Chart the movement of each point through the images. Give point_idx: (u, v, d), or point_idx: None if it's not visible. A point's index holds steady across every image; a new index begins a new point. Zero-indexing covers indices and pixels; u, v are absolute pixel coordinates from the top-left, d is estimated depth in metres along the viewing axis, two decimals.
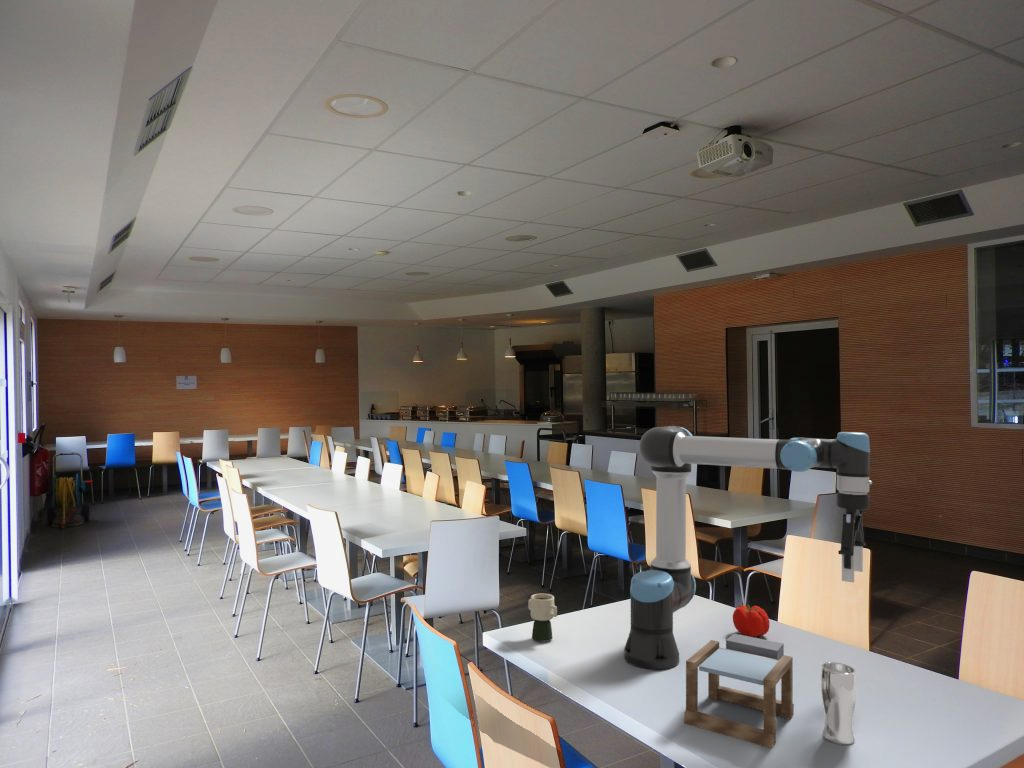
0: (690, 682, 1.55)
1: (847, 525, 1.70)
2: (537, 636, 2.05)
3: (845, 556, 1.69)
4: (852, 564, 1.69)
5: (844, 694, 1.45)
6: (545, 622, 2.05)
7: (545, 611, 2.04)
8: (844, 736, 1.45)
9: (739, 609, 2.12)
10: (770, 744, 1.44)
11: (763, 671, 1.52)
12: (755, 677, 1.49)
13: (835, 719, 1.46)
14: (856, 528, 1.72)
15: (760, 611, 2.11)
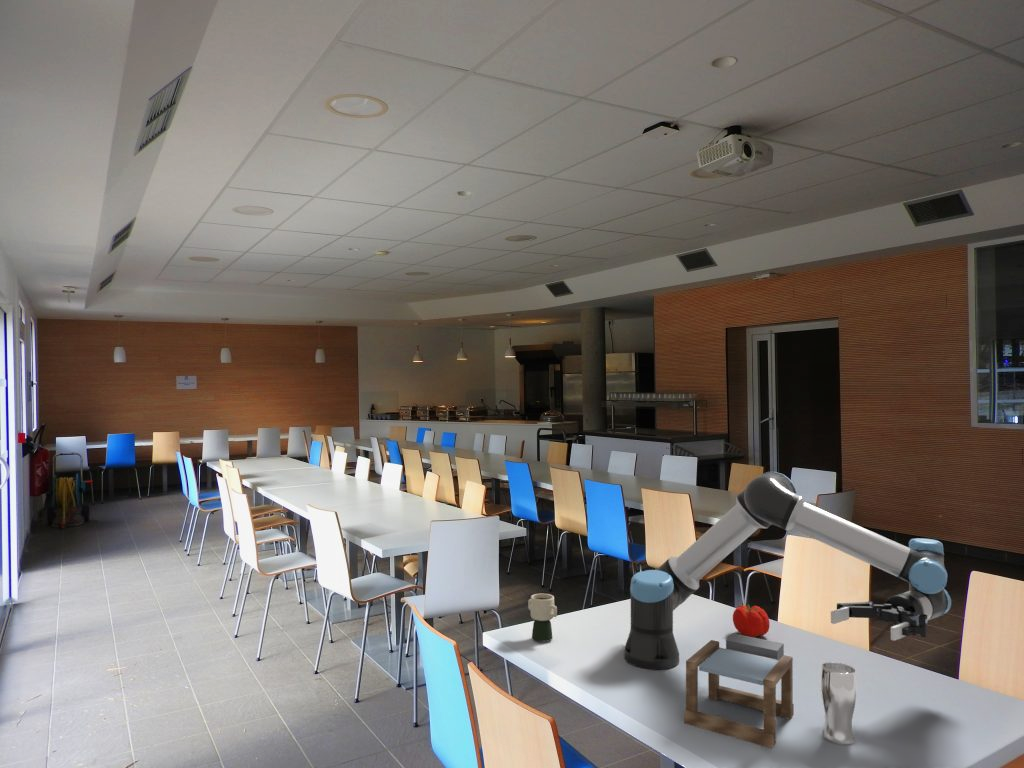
0: (690, 682, 1.55)
1: None
2: (537, 636, 2.05)
3: (914, 628, 1.51)
4: (904, 635, 1.51)
5: (844, 694, 1.45)
6: (545, 622, 2.05)
7: (545, 611, 2.04)
8: (844, 736, 1.45)
9: (739, 609, 2.12)
10: (770, 744, 1.44)
11: (763, 671, 1.52)
12: (755, 677, 1.49)
13: (835, 719, 1.46)
14: None
15: (760, 611, 2.11)
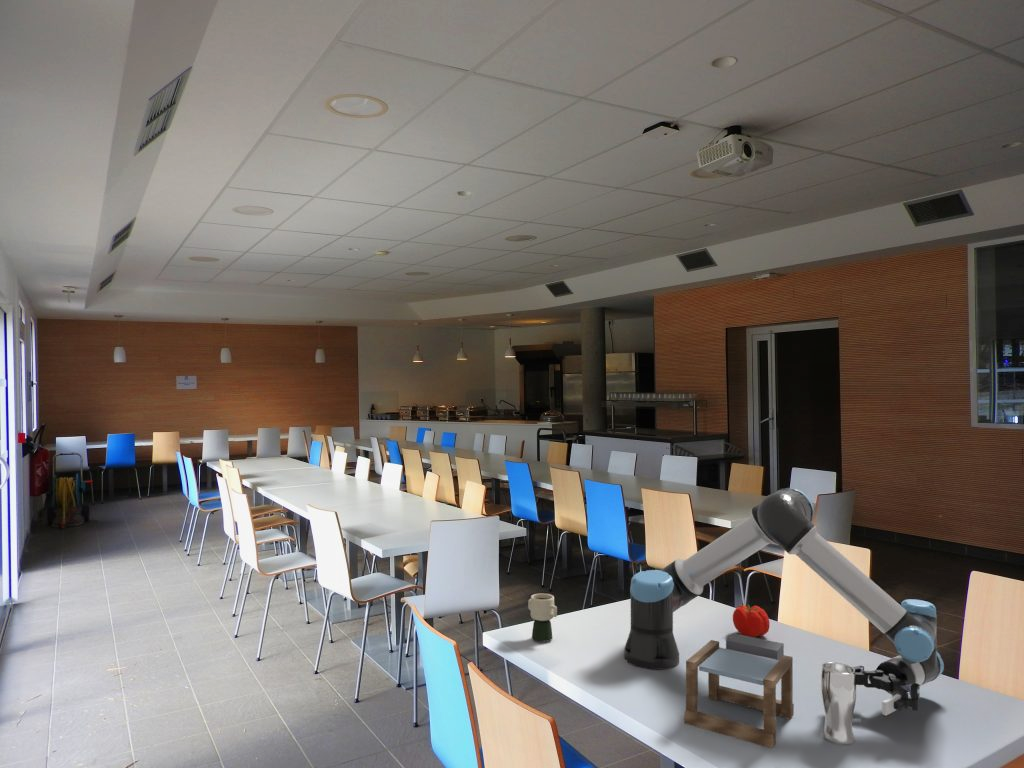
0: (690, 682, 1.55)
1: None
2: (537, 636, 2.05)
3: (906, 702, 1.47)
4: None
5: (844, 694, 1.45)
6: (545, 622, 2.05)
7: (545, 611, 2.04)
8: (844, 736, 1.45)
9: (739, 609, 2.12)
10: (770, 744, 1.44)
11: (763, 671, 1.52)
12: (755, 677, 1.49)
13: (835, 719, 1.46)
14: None
15: (760, 611, 2.11)
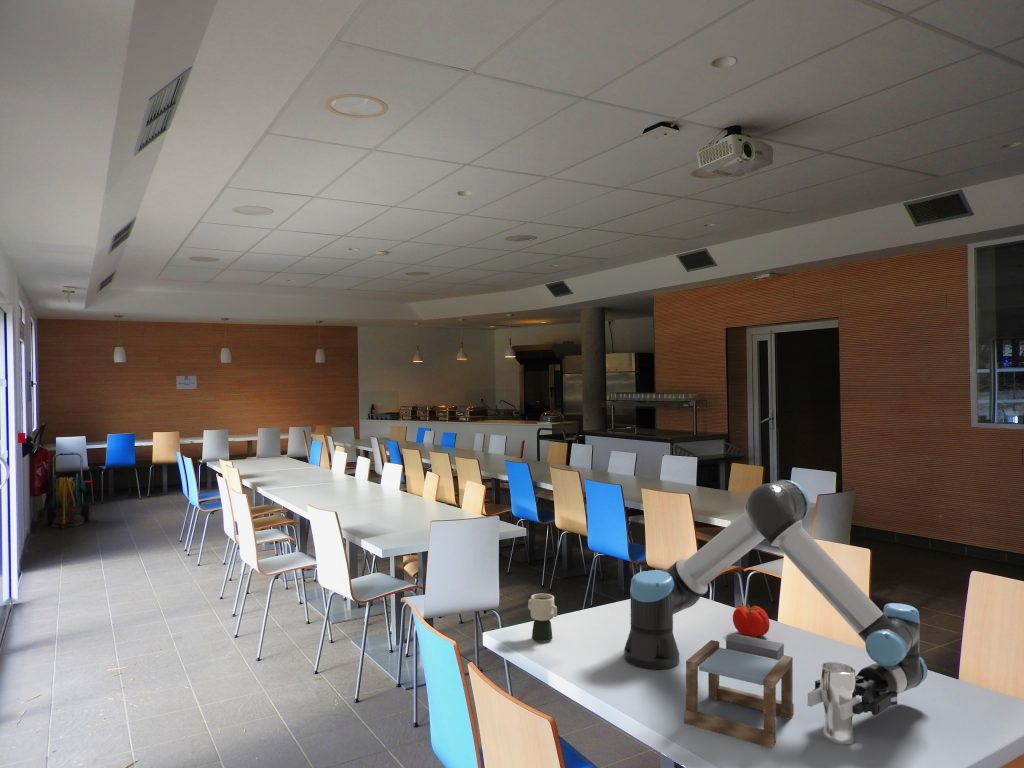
0: (690, 682, 1.55)
1: (890, 700, 1.48)
2: (537, 636, 2.05)
3: (865, 706, 1.45)
4: None
5: (844, 694, 1.45)
6: (545, 622, 2.05)
7: (545, 611, 2.04)
8: (844, 736, 1.45)
9: (739, 609, 2.12)
10: (770, 744, 1.44)
11: (763, 671, 1.52)
12: (755, 677, 1.49)
13: (835, 719, 1.46)
14: None
15: (760, 611, 2.11)
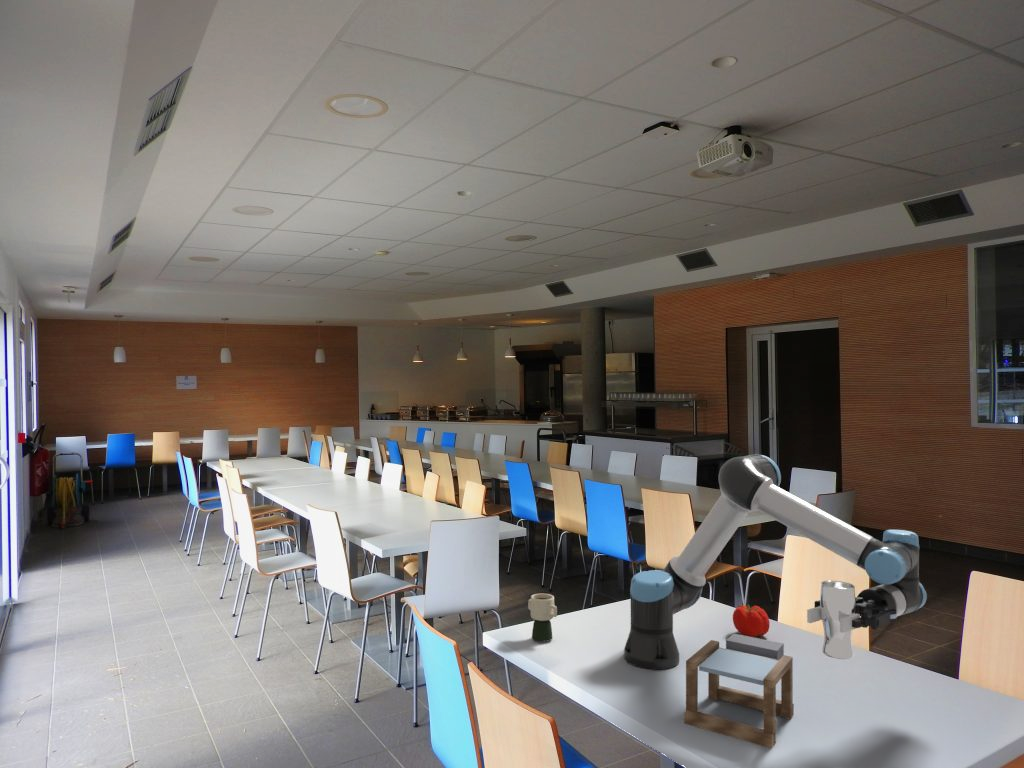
0: (690, 682, 1.55)
1: (889, 616, 1.49)
2: (537, 636, 2.05)
3: (865, 620, 1.45)
4: (854, 627, 1.45)
5: (843, 609, 1.45)
6: (545, 622, 2.05)
7: (545, 611, 2.04)
8: (843, 651, 1.46)
9: (739, 609, 2.12)
10: (770, 744, 1.44)
11: (763, 671, 1.52)
12: (755, 677, 1.49)
13: (834, 634, 1.47)
14: None
15: (760, 611, 2.11)
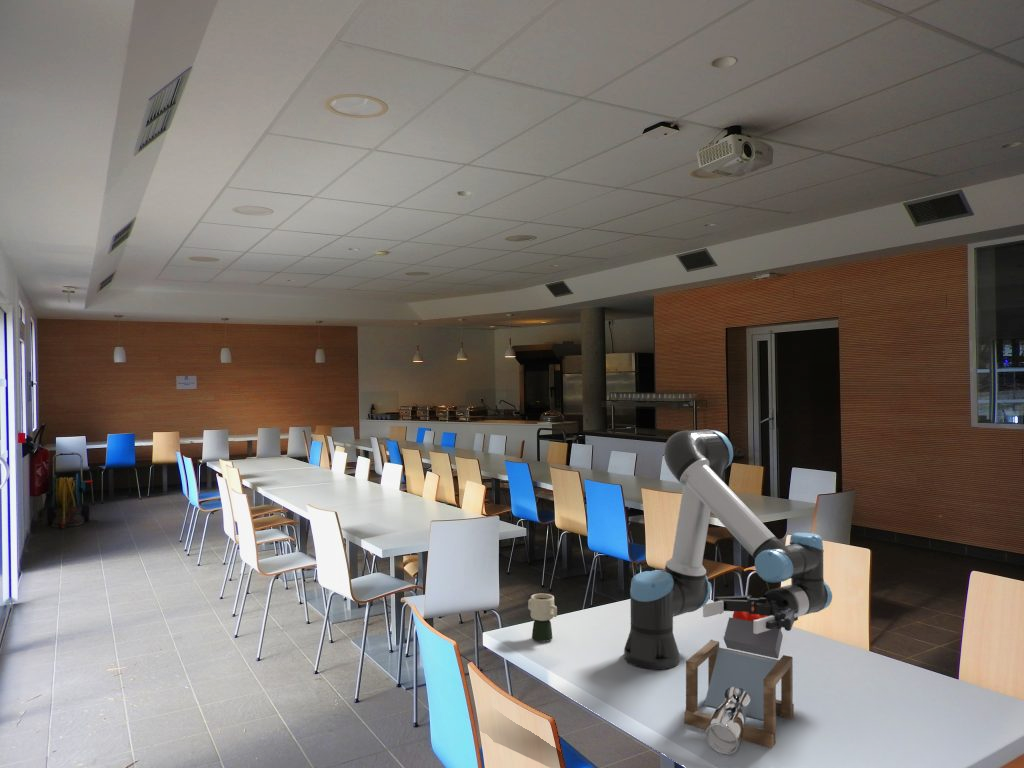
0: (690, 682, 1.55)
1: (793, 616, 1.56)
2: (537, 636, 2.05)
3: (778, 622, 1.51)
4: (768, 628, 1.51)
5: None
6: (545, 622, 2.05)
7: (545, 611, 2.04)
8: None
9: None
10: (770, 744, 1.44)
11: None
12: (759, 713, 1.51)
13: None
14: None
15: None
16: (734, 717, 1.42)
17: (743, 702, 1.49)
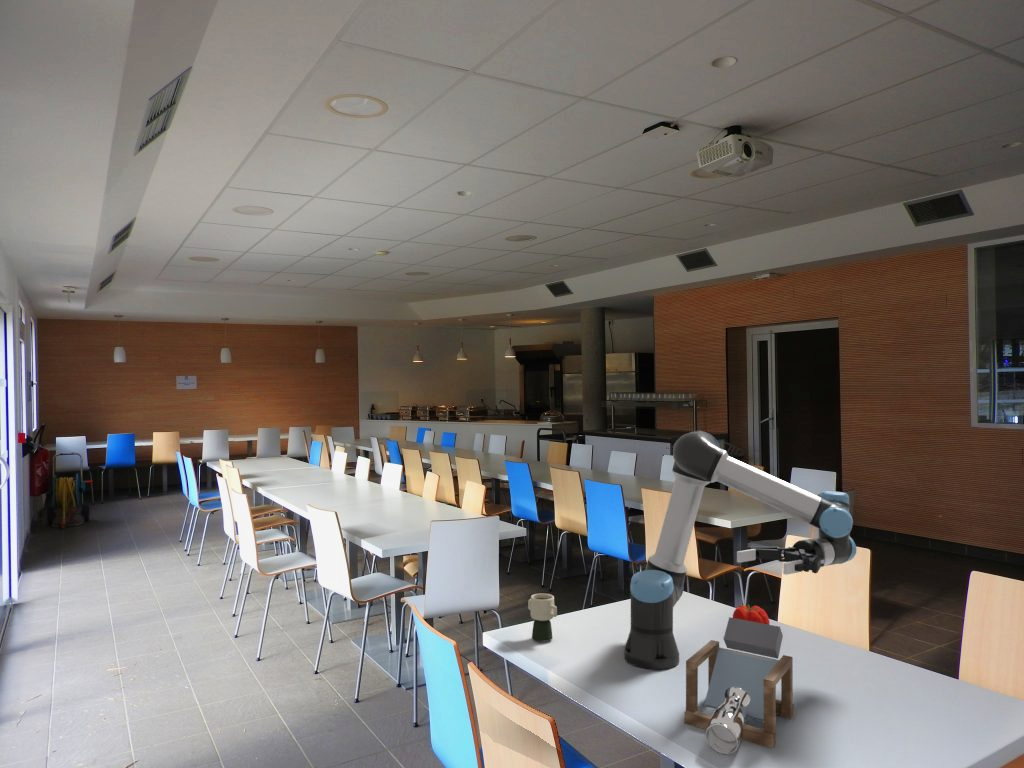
0: (690, 682, 1.55)
1: (820, 562, 1.72)
2: (537, 636, 2.05)
3: (806, 565, 1.67)
4: (797, 571, 1.67)
5: None
6: (545, 622, 2.05)
7: (545, 611, 2.04)
8: None
9: (739, 609, 2.12)
10: (770, 744, 1.44)
11: None
12: (759, 713, 1.51)
13: None
14: None
15: (760, 611, 2.11)
16: (734, 717, 1.42)
17: (743, 702, 1.49)
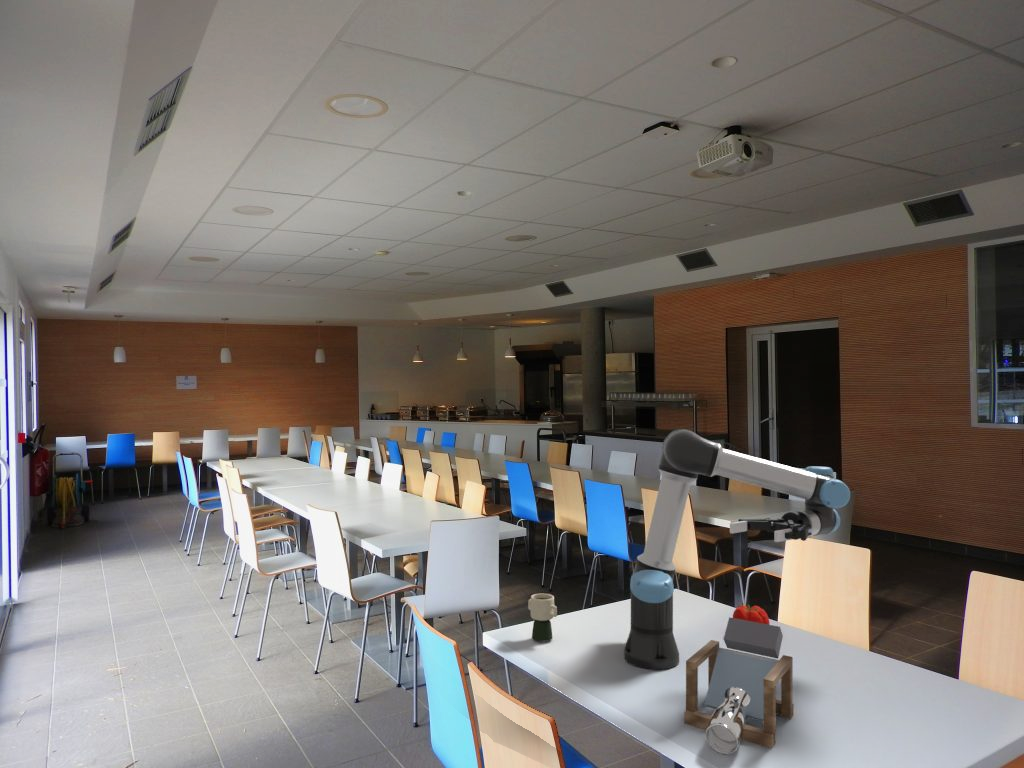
0: (690, 682, 1.55)
1: (808, 530, 1.82)
2: (537, 636, 2.05)
3: (795, 533, 1.77)
4: (787, 539, 1.77)
5: None
6: (545, 622, 2.05)
7: (545, 611, 2.04)
8: None
9: (739, 609, 2.12)
10: (770, 744, 1.44)
11: None
12: (759, 713, 1.51)
13: None
14: None
15: (760, 611, 2.11)
16: (734, 717, 1.42)
17: (743, 702, 1.49)
